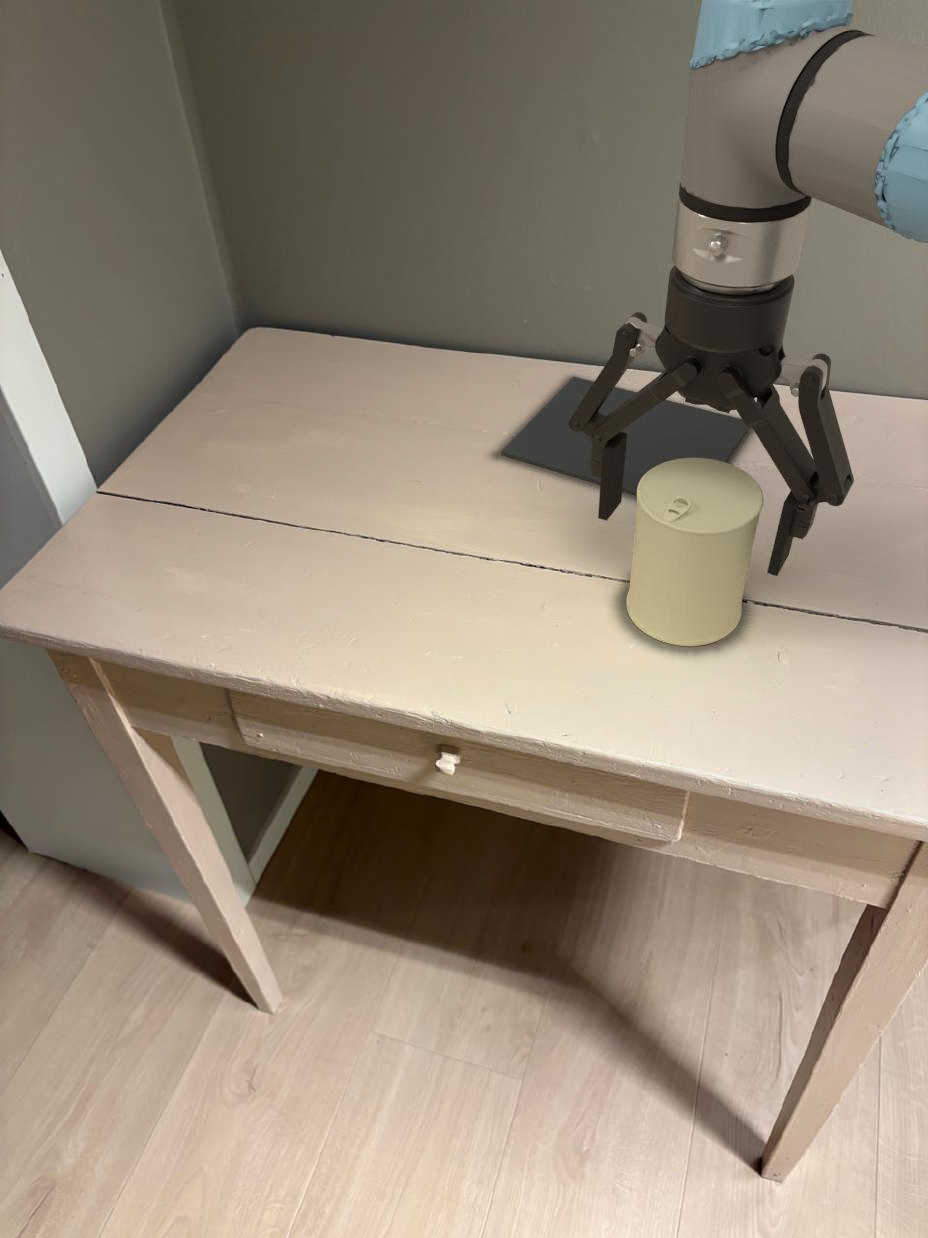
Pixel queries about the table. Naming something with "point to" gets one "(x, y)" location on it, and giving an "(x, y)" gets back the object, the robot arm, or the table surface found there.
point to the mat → (648, 437)
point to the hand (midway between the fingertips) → (690, 536)
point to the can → (692, 549)
